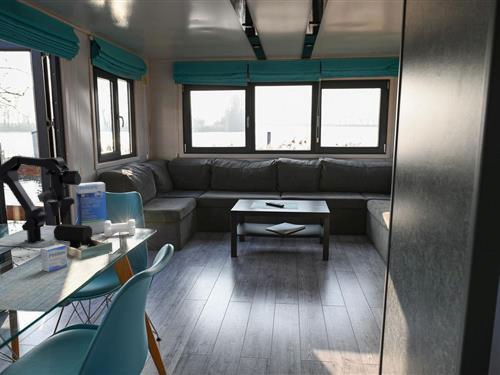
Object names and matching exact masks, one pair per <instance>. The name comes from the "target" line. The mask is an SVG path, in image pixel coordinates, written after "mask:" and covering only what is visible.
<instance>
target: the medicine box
mask: <svg viewBox="0 0 500 375" xmlns="http://www.w3.org/2000/svg"><path fill="white" fill-rule="evenodd" d="M40 259H41V260H40V261H41V270H42V271H45V272H48V273H50V272H54V271H57V270H60V269H63V268H67V267H68V254H67V249H66V244H64V245H63V243H61V244H58V245H54V246H53V245H50V246H46V247H43V248H40Z"/></svg>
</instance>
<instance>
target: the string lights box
mask: <svg viewBox="0 0 500 375" xmlns="http://www.w3.org/2000/svg"><path fill="white" fill-rule="evenodd" d="M106 195H107V194H106V183H104V182H102V181H97V182H95V181H94V182H83V183H82V182H81V183H80V184H79V185H75V198H76V199H75V200H76V212H77V213H76V214H77V225H86V226H90V227H91V228H92V235H94V234H101V233H104V222H105V221H106V220H107V219H108V218H107V200H106V199H107V198H106V197H107V196H106Z"/></svg>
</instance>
